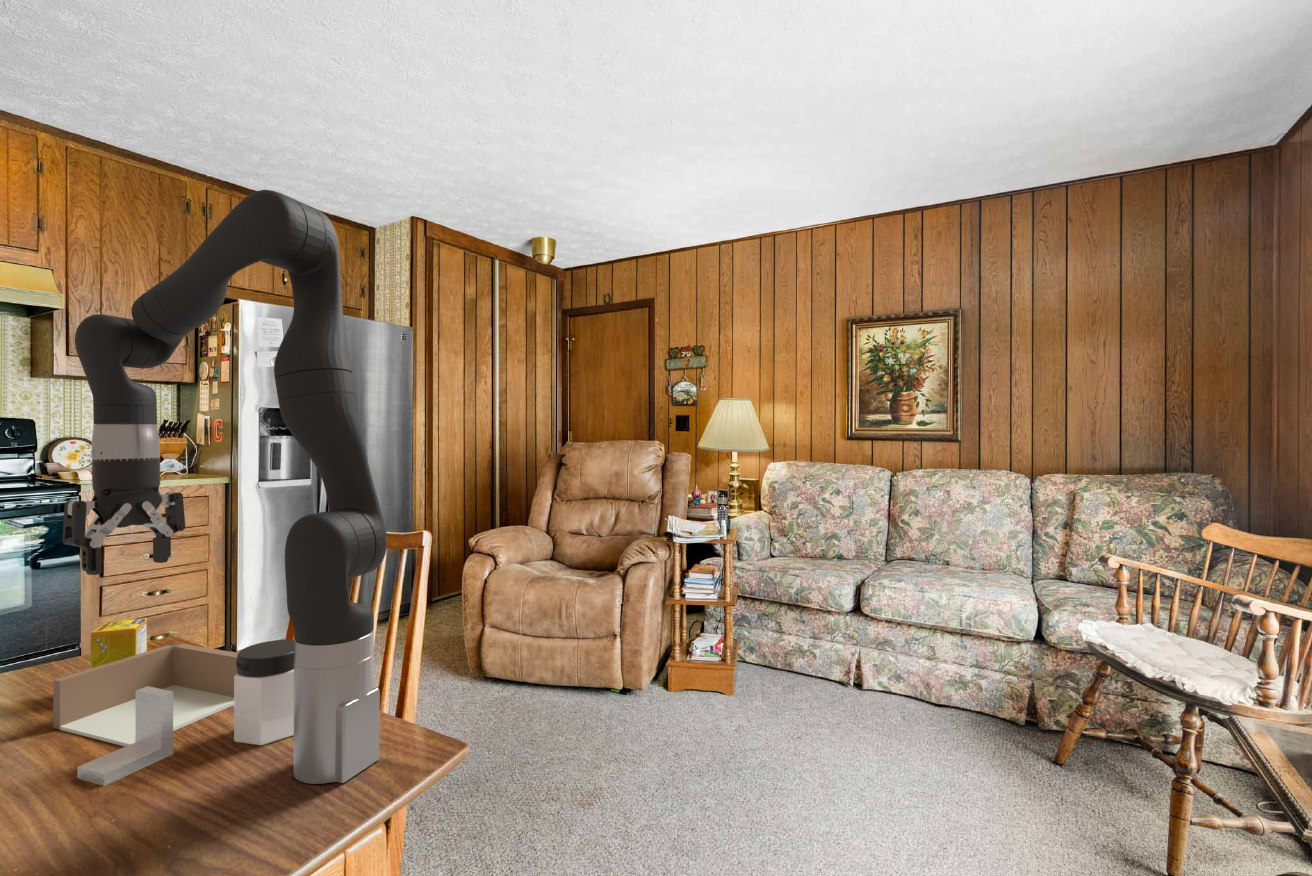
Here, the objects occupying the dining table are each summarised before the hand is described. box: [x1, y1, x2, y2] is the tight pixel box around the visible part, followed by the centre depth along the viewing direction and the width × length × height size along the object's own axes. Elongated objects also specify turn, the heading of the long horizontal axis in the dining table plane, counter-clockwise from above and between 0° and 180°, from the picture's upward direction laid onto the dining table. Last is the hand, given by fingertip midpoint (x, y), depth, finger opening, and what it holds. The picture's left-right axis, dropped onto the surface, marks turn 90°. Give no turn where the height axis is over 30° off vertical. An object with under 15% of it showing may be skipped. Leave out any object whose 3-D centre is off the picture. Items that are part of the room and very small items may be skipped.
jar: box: [233, 639, 294, 746], centre depth 90 cm, size 9×8×12 cm
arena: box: [52, 642, 239, 747], centre depth 95 cm, size 17×17×7 cm
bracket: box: [76, 686, 174, 787], centre depth 80 cm, size 8×5×8 cm, turn 161°
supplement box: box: [90, 617, 148, 669], centre depth 103 cm, size 6×6×11 cm
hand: (129, 568), depth 90 cm, fingers open, 8 cm apart
